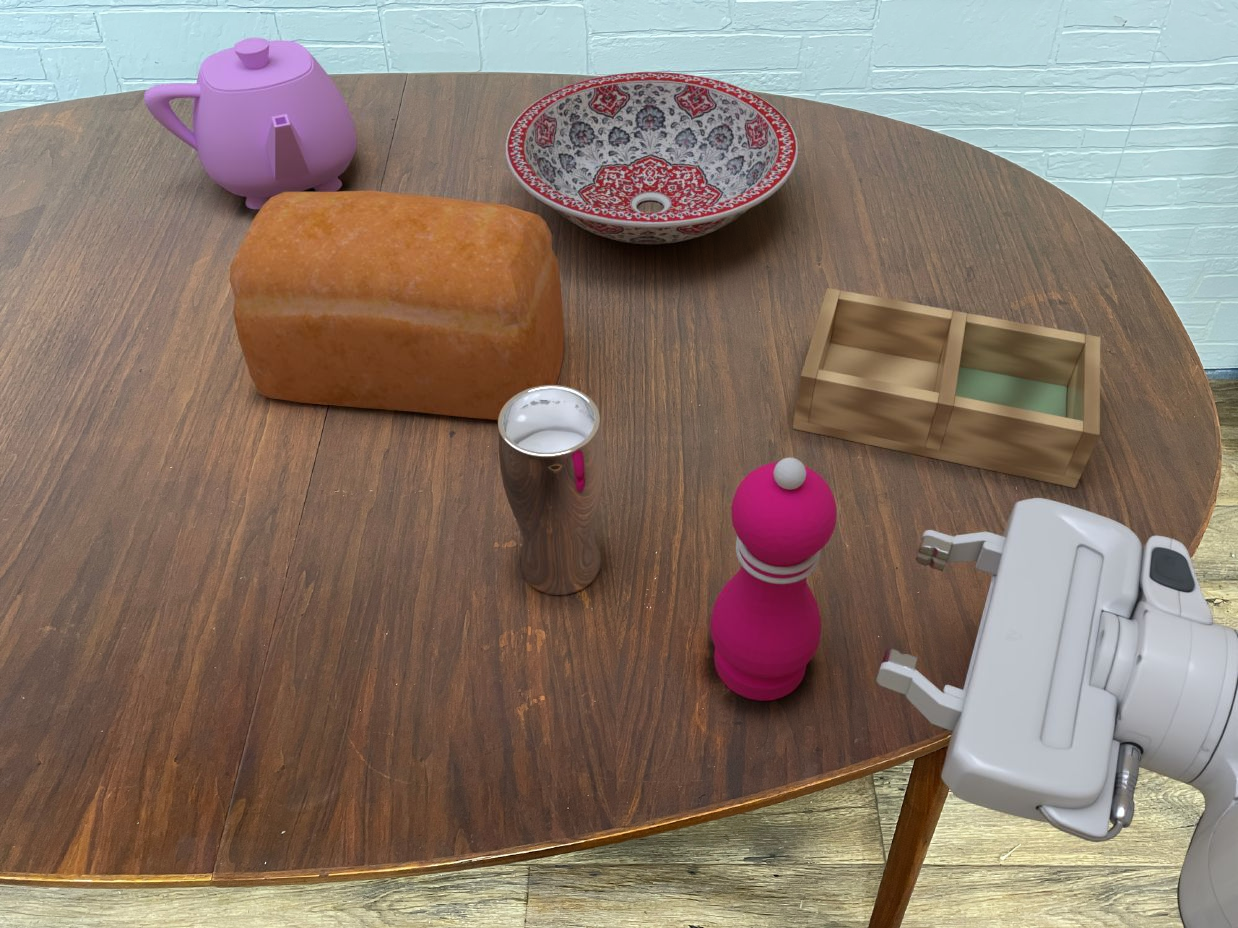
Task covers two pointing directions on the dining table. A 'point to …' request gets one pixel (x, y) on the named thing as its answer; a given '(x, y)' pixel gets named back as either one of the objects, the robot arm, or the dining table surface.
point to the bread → (398, 302)
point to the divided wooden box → (952, 386)
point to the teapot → (263, 120)
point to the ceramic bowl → (651, 154)
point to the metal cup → (554, 484)
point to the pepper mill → (773, 580)
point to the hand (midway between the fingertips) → (901, 602)
